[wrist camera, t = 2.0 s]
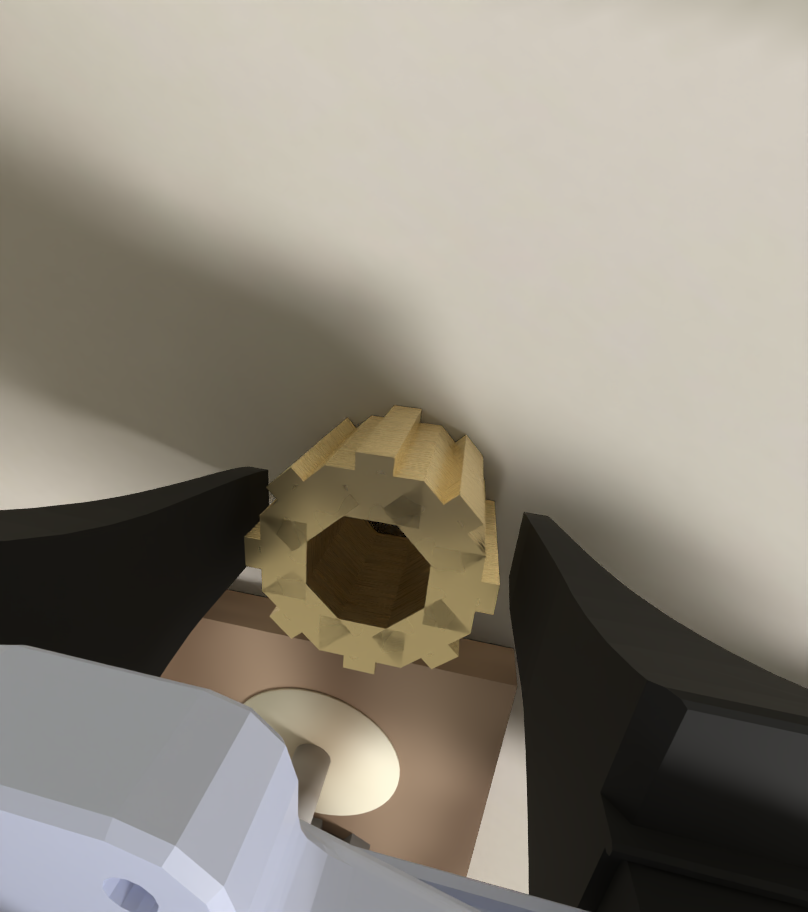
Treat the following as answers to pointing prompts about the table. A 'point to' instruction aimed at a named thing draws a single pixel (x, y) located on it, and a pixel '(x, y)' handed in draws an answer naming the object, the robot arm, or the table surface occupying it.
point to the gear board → (366, 729)
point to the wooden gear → (380, 543)
